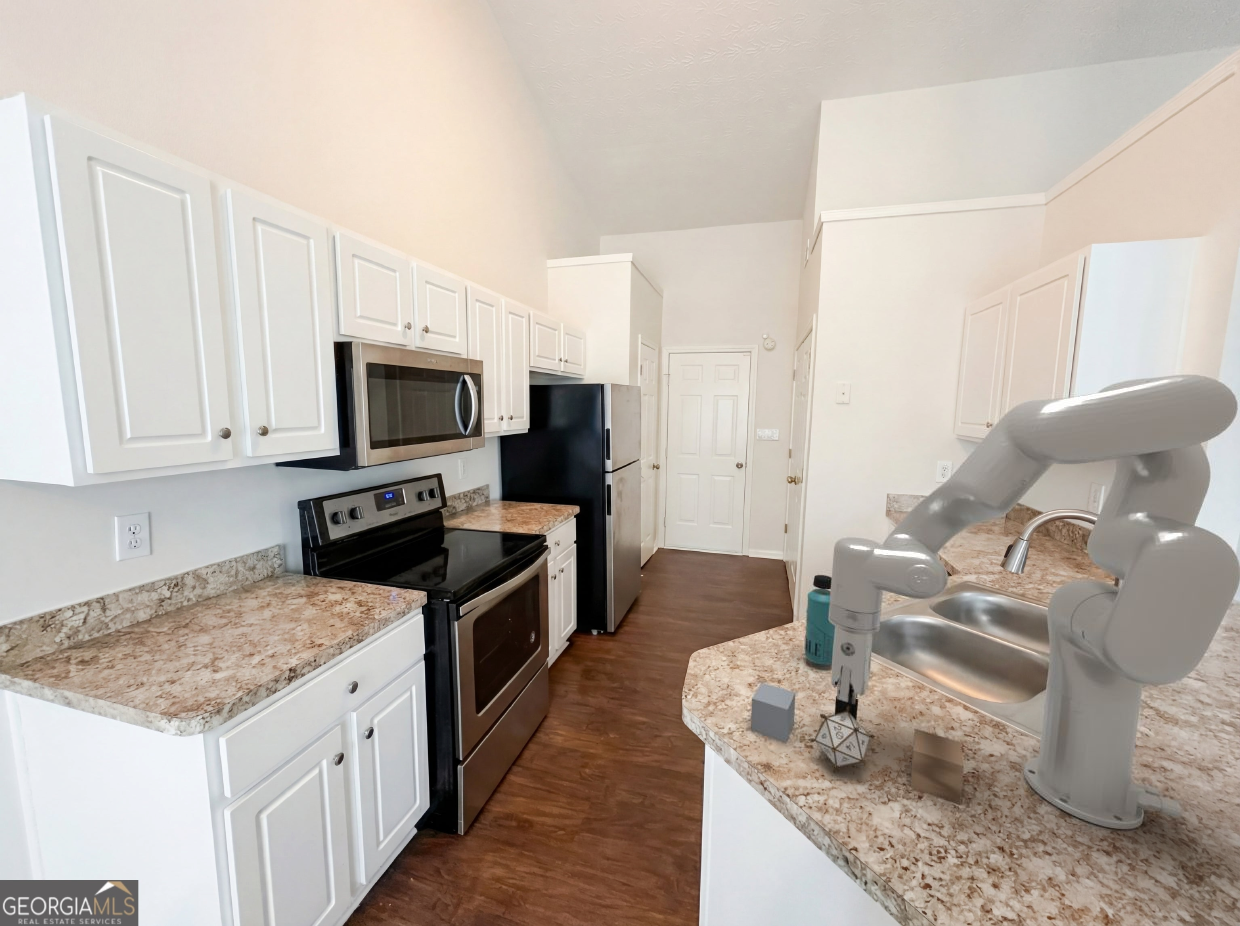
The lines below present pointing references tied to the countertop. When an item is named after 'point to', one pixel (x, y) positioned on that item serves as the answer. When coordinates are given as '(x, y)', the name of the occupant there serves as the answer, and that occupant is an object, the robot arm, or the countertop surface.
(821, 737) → the game die
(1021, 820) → the countertop surface
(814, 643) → the beverage bottle
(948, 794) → the walnut block
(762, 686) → the slate block
